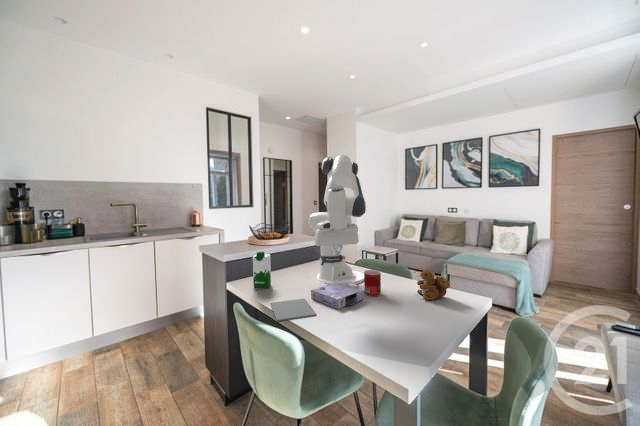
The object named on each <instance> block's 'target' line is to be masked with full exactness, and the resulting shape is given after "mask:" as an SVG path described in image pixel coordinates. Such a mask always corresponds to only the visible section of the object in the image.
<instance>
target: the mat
mask: <svg viewBox="0 0 640 426" xmlns="http://www.w3.org/2000/svg"><path fill="white" fill-rule="evenodd" d="M270 306H271V310H272V312H273V315H274V317H275V320H276V322H280V321H281V322H282V321H289V320H295V319H302V318H309V317H316V316H317V313H316V311H315V310H314V308H312V306H311V304H309V302H308V301H307V300H306V298H299V299H289V300H281V301H274V302H270Z"/></svg>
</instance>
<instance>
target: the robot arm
mask: <svg viewBox="0 0 640 426" xmlns="http://www.w3.org/2000/svg"><path fill="white" fill-rule="evenodd" d="M321 172H322V173H323V174H324V175H328V176H330V177H329V179H328V181H327V184H326V187H325V192H324V197H323V203H324V204H323V205H325V211H321V212H320V211H319V212H314V213H312V214H310V215H309V218H308V227H309V228H310V229H311V230H313V232H314V244H315V246H317V247H320V248H319V249H320V255H319V263H320V268H319V273H320V274H319V273H318V274H319V279H321V280H327V281H334V282H337V281H336V280H339V281H342V280H350V279H354V278H356V277H357V276H356V275H354V274H353V271H354V270H353V269H352V268H353V267H351V266H350V265H349V264H348V263H346V262H345V261H344V260H346V256H345V255H342V254H341V252H342V250H343V248H344V246H347V245H358V243H359V234H358V232H359V227H358V225H357V224H355V223H352V222H353V221H352V218H353V217H355V218H361V217H363V215H364V214H365V213H366V211H367V204H366V200H365V198H364V194H363V190H362V185H361V183H360V182H361V181H360V179H359V177H358V173H359V165H358V163H356V162H354V161H351V158H350V157H349V155H345V154H339V155H337V156H336V157H332V156H329V157H328V156H327V157H325V158H324V159H323V161H322V163H321ZM345 188H346V189H347V188H348V189H351V190H352V191H353V195H348V196H347V195H346V189H345Z"/></svg>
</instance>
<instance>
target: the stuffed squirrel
mask: <svg viewBox="0 0 640 426" xmlns="http://www.w3.org/2000/svg"><path fill="white" fill-rule="evenodd" d="M435 275H436V274H435V272H434V271H432V269H431V268H427V269H424V270H423V271H421V272H420V275H419V277H420V278H421V280H418V281H417V282H416V284H417V285H418V286H419V289H417V291H416V292H417V294H420V295H422V296H423V297H422V299H423V300H425V301H426V300H427V301H428V300H432V301H433V300H435V299H437V298H439V299H441V298H443V297H445V296H446V295H447V289H449V288H450V287H451V285H450V284H451V282H450V281H449V280H448V279H447V278H446V277H443V276H438V277H436V278H435Z"/></svg>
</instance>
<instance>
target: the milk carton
mask: <svg viewBox="0 0 640 426" xmlns="http://www.w3.org/2000/svg"><path fill="white" fill-rule="evenodd" d="M271 264H272V263H271V253H269V254H268V253H266V254H265V252H264V251H256V254H255V255H253V256H252V272H253V273H252V276H253V277H252V278H253V282H252V283H253V289H254V288H267V289H269V287H270V286H271V284H272V283H271V282H272V274H271V273H272V267H271Z"/></svg>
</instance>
